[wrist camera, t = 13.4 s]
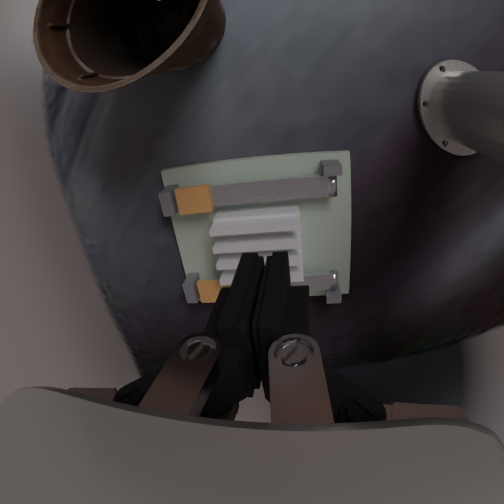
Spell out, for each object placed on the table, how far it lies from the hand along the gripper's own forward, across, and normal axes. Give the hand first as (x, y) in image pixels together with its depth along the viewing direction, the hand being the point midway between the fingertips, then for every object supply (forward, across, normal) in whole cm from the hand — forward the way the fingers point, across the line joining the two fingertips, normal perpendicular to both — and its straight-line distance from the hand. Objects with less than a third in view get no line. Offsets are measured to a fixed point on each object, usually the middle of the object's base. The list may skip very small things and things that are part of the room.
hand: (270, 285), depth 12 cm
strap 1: (+25, +5, +4) cm, 26 cm away
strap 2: (+25, +5, +17) cm, 30 cm away
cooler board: (+27, +5, +11) cm, 29 cm away
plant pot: (+27, +12, -17) cm, 34 cm away
